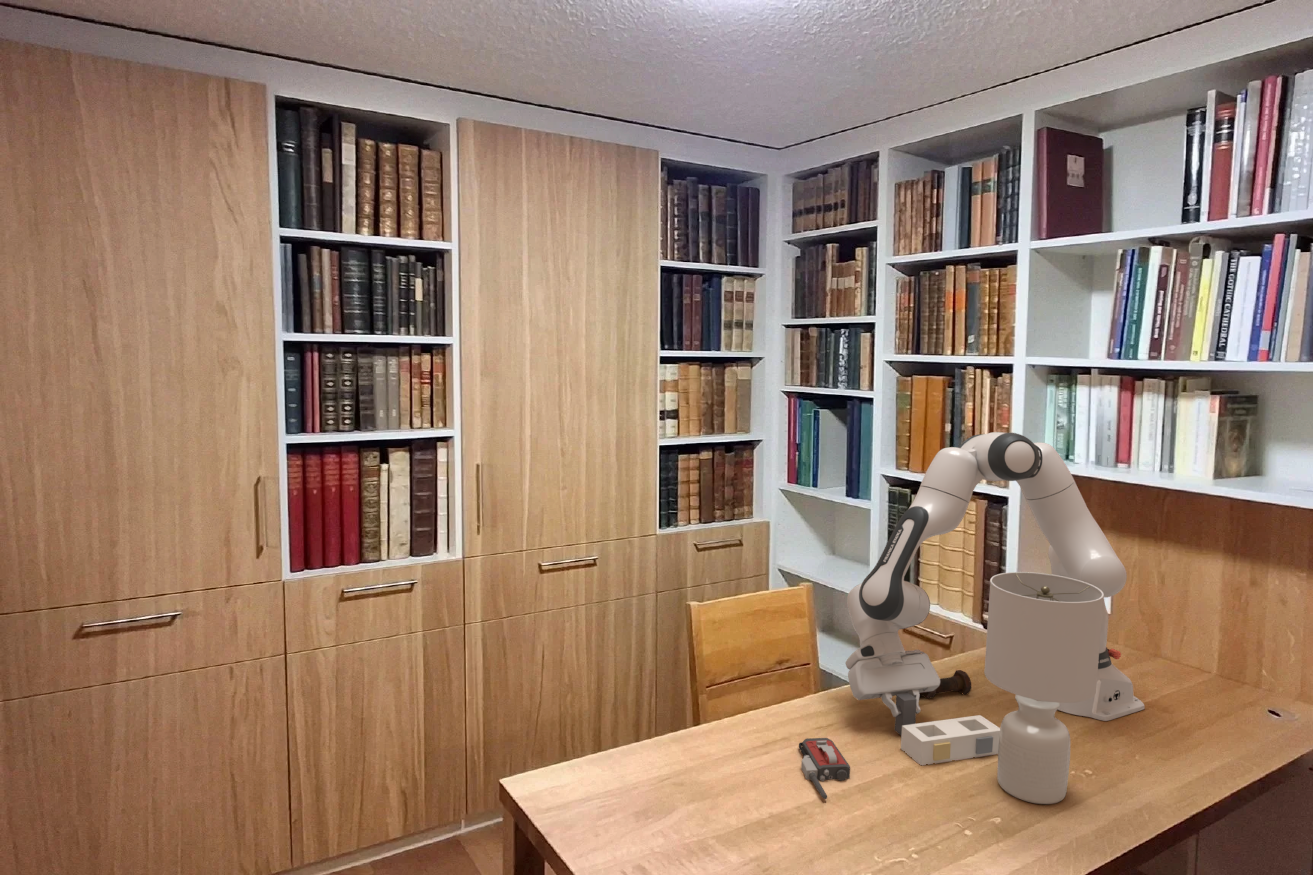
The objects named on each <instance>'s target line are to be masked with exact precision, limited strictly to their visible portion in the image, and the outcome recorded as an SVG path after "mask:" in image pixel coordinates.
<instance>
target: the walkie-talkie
mask: <svg viewBox="0 0 1313 875" xmlns="http://www.w3.org/2000/svg"><path fill="white" fill-rule="evenodd" d="M798 749H799V750H800V752H801V754H802V755H803V758H802V759H801V764H800V766H801V767H800V769H801V771H802V773H803V775H804V778H805V780H807V781H808V780H809V781H811V782H812V783H813V785H814V787H815V788H816V790H817V792H818V794H819V795H820V797H821V798H822V799H823V800H827V798H828V795H827V793H826V791H825V789H824V788H823V786H822V784H821V783H820V781H821V782H825V781H826V780H827V781H828V780H829V781H831V780H838V781H840V782H841V781H845V780H847V779H848V780H849V779H850V777H851V776H850V775H851V766H850V765H849V763H848V762H847V759H846V758H845V757H844V755H842V754H843V753H841V751H840V750H839V748H838V747H837V746H836V744H835V743H834V742H833V740H832V739H830V738H828V737H814V738H805V739H803V741H801V742H799V743H798Z"/></svg>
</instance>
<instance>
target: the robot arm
mask: <svg viewBox="0 0 1313 875" xmlns="http://www.w3.org/2000/svg"><path fill="white" fill-rule="evenodd" d="M982 480H984V481H988V482H1002V481H1003V482H1004V481H1005V482H1006V481H1007V482H1016V483H1017V484H1018V486H1019V487H1020V490H1021V492H1022V495H1023V497H1024V499H1025V501H1026V502H1027V503H1026V504H1027V505H1028V507H1029V509H1030V511H1031V513H1032V515H1033V517H1034V519H1035V521H1036V523H1037V526H1038V528H1039V529H1040V531H1041V533H1042V534H1043V536H1044V537H1045V538H1046V540H1047V541H1048V543H1049V546H1048V553H1047V554H1048V555H1047V556H1048V559H1049V563H1050V569H1051V575H1058V576H1063V577H1068V578H1072V579H1076V580H1080V581H1083V582H1086V583H1088V584H1091V585H1093V586H1095V587H1097V588H1099V589H1100V590H1101V591H1102V592H1103V594H1104V597H1103V610H1102V623H1101V635H1100V648H1099V660H1098V673H1097V685H1096V694H1095V695H1094V696H1093V697H1092V698H1090V699H1089V700H1085V701H1081V702H1074V703H1060V706H1059V708H1058V709H1057V711H1061V712H1064V713H1066V714H1070V715H1074V716H1075V715H1076V716H1080V717H1082V716H1083V717H1087V718H1092V719H1095V720H1099V721H1104V722H1107V721H1111V720H1115V719H1117V718H1121V717H1124V716H1127V715H1130V714H1133V713H1137V712H1139V711H1142V710H1145V704H1144V702H1142V700H1141V699H1139V698H1138V697H1137V696H1135V695H1134V685H1133V683H1132V680H1131V679H1130V678H1129V677H1128V676H1127V675H1126V674H1125V673H1123V672H1122V671H1121V670H1120V669H1119V668H1117V667H1116V666H1115V665H1114V664H1113V662H1112V659H1111V658H1113V659H1115V660H1119V659H1120V658H1121V657H1122V653H1121V651H1120V650H1117V649H1114V648H1110V649H1109V648H1108V647H1107V642H1108V641H1107V640H1108V629H1109V613H1108V610H1107V606H1106V603H1105V598H1110V597H1114V596H1115V595H1117V594H1118V593H1120V592H1121V591H1122V589H1124V587H1125V585H1126V582H1127V578H1128V574H1127V570H1126V568H1125V565H1124V564H1123V563H1122V561H1121V559H1120V558H1119V557H1118V555H1117V553H1116V552H1115V550H1114V549H1113V547H1112V545H1111V543H1110V542H1109V540H1108V538H1107V537H1106V535H1105V533H1104V532H1103V531H1102V530H1103V529H1101V527H1100V525H1099V524H1098V522H1097V521H1096V519H1095V517H1094V516H1093V515H1092V513H1091V512H1090V509H1089V508H1088V507H1087V504H1086V502H1085V499H1084V498H1083V495H1082V493H1081V492H1080V490H1079V488H1078V486H1077V483H1076V481H1075V479H1074V476H1073V475H1072V473H1071V471H1070V470H1069V468H1068V466H1067V465H1066V463H1065V461H1064V460H1063V458H1062V457H1061V456H1060V454H1059V453H1058V451H1057V450H1056V449H1055V447H1053V445H1051V444H1049V443H1047V442H1038V441H1037V442H1033V441H1032V440H1031V439H1030V438H1028V437H1026V436H1025V435H1022V434H1020V433H1018V432H1017V433H1016V432H1001V431H993V432H989V433H983V434H982V433H981V434H976V435H972V436H970V437H968V438H967V439H965V440H963V442H961V443H960V445H959V446H958V447H955V446H954V447H953V446H951V447H945V448H941V449H940V450H939V451H938V452H937V453H936V454H935V456H934V457H933V458H932V461H931V462H930V465H929V466H928V467H927V470H926V471H925V474H924V476H923V478H922V480H921V483H920V486H919V489H918V490H917V494H916V495H915V498H914V500H913V501H912V502H911V504H910V506H909V508H908V509H906V510H905V511H904V513H903V514H902V515H901V517H900V518H899V520H898V522H897V523H896V525H895V527H894V528H893V531H892V533H891V535H890V537H889V538H888V540H887V543H886V545H885V547H884V549H883V550H882V553H881V554H880V557H879V558H878V561H877V562H876V564H875V566H874V568H873V569H872V570H871V571H870V572H869V573H868V574H867V576H866V577H865V578H864V579H863V581H862V582H861V583H859V584H857V585H856V586H854V587H853V588H851V590H850V591H849V592H848V594H847V597H846V603H847V610H848V614H849V617H850V620H851V623H852V626H853V629H854V631H855V632H856V634H857V636H858V638H859V646H860V647H858V648H857V649H856V650H855V651H853V652H852V653H851V654H850V655H849V657H847V659H846V660H845V667H846V668H847V670H848V672H847V679H848V682H849V686H850V687H849V688H850V690H851V694H852V696H853V697H854V698H855V699H856V700H858V701H863V700H870V699H871V700H872V699H873V700H874V699H879V698H881V701H882V703H883V704H884V705H885V706H886V707H887V708H888V709H889V710H890V712H891V714H892V717H893V718H895V717H896V716H901V715H902V710H901V707H900V705H899V706H897V705H896V702H894V701H893V700H892V699H893V697H896V695H898V694H907V693H909V694H910V695H912V696H913V697H914V698H916V699H917V703H916V715H917V714H920V713H921V711H922V710H921V706H920V705H919V702H920V697H921V696H920V694H919V693H921V692H929V691H934V690H935V689H936V688H938V687H939V685H940V679H941V678H940V676H939V674H938V672H937V670H936V668H935V667H934V666H933V663H932V662H931V659H930V658H929V655H928V654H927V653H925V652H924V651H922V650H921V649H914V650H905V648H904V646H903V643H902V640H901V637H900V635H899V630H904V629H908V628H911V627H916V626H917V625H920V624H922V623H923V622H924V621H926V619H927V617H928V616H929V614H930V609H931V602H930V596H929V595H928V593H927V592H926V590H925V589H923V587H920V586H918V585H916V584H915V583H912V582H909V581H907V580H905V576H906V574H907V572H908V570H909V567H910V566H911V563H912V561H913V559H914V557H915V555H916V553H917V551H918V549H919V547H920V546H921V544H923V543H924V541H926V540H928V539H929V538H932V537H935V536H941V535H945V534H948V533H951V532H953V531H954V530H956V529H957V528H958V527H959V525H960V524H961V522H962V520H964V519H963V518H964V517H965V515H966V514H967V513H966V512H967V510H968V507H969V504H970V502H971V499H972V496H973V493H974V490H975V488H976V487H977V485H978V484H979V483H980V482H981V481H982Z"/></svg>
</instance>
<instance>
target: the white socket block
mask: <svg viewBox="0 0 1313 875" xmlns="http://www.w3.org/2000/svg"><path fill="white" fill-rule="evenodd" d="M1000 728H1001V727H999V726H997V725H996V724H994V723H993V722H992V721H990V720H989V719H987V718H985V717H984V716H982V715H981V714H978V715H972V716H964V717H957V718H949V719H948V718H947V719H942V720H933V721H926V722H920V723H915V724H910V725H903V726H902V734H901V735H900V736H901V737H900V738H901V739H900V750H901V751H902V752H904V751H905V752H904V753H905V754H906V753H907V755H908V756H909V757H910V758H911V757H912V758H911V759H912V760H913V761H915V762H916V763H917V764H918V765H919V764H920V766H921V765H922V766H927V765H926V764H928V765H934V764H933V763H935V764H940V763H947V762H953V761H952V760H955V761H961V760H967V759H974V758H973V757H975V758H981V757H986V756H987V757H988V756H992V755H993V756H994V755H998V746H999V735H1000Z"/></svg>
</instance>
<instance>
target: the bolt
mask: <svg viewBox="0 0 1313 875" xmlns="http://www.w3.org/2000/svg"><path fill="white" fill-rule="evenodd" d="M971 690H972V679H971V678H970V676H969V674H968V673H967V672H966V671H964V670H961V669H958V670H957V669H956V670H955V671H954V673H953V675H952V676H950V677H943V678H942V677H941V678H940V685H939V687H938V688H936V689H935V690H934V691H929V692H921V693H919V694H920V696H919V697H924V698H925V697H926V699H933V698H934V697H935V696H936V695H937V694H943V693H948V692H959V693H960V692H961V693H960V694H962V693H963V694H964V695H968V694H969V693H970V692H971ZM967 693H968V694H967ZM963 694H962V695H963Z"/></svg>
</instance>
